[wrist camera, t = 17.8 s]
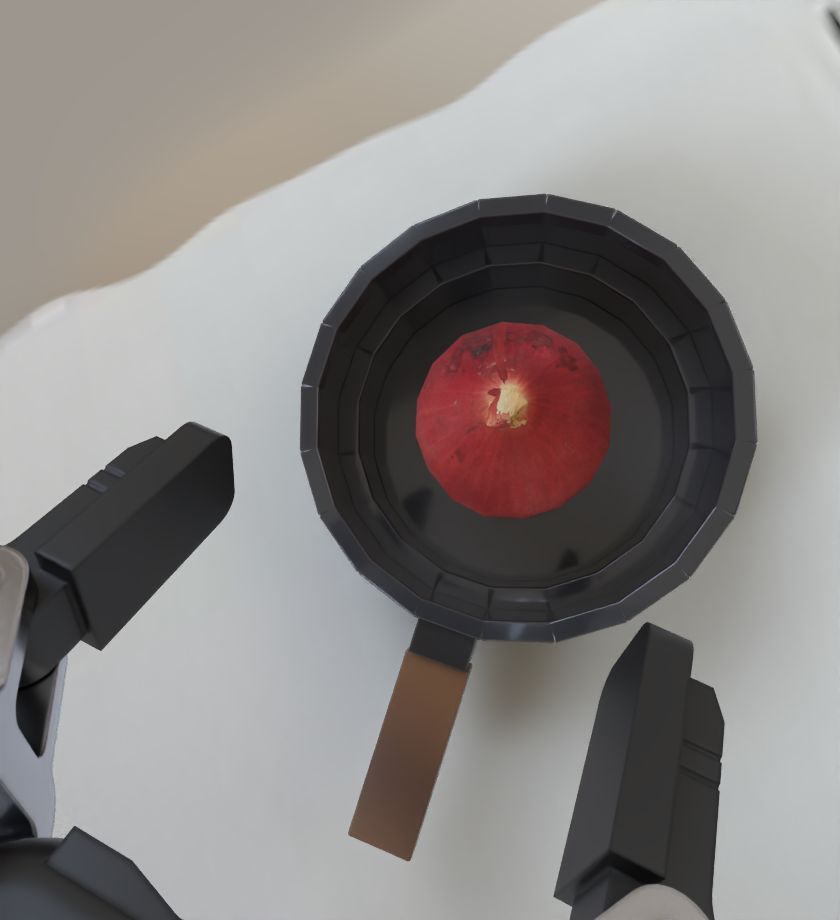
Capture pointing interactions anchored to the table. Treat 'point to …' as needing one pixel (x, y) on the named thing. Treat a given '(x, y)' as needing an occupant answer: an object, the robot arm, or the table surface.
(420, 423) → the onion
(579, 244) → the pan
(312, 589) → the table surface
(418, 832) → the pan handle
